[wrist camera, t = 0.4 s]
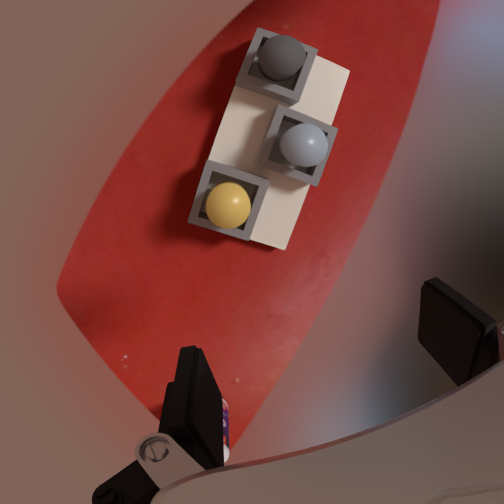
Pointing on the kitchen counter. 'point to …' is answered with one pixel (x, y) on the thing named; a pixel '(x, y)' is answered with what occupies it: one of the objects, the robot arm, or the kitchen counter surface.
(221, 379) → the kitchen counter surface
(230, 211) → the mustard button
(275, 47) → the charcoal button
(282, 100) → the console
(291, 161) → the slate button
